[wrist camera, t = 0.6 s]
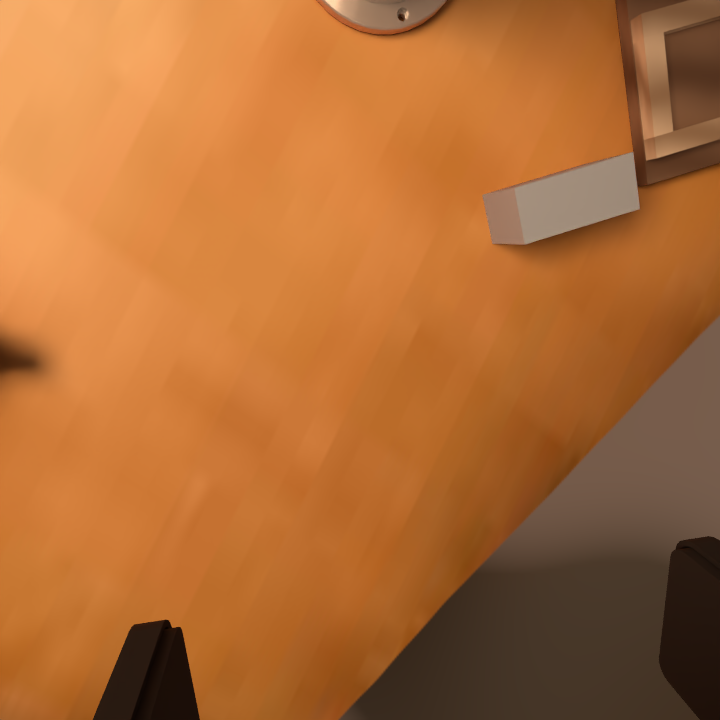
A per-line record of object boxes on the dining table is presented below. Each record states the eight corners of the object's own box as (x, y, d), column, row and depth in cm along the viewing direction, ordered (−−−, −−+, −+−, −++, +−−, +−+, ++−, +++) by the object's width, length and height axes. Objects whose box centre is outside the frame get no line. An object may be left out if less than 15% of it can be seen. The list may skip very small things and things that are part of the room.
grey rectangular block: (482, 195, 40) (514, 187, 34) (587, 163, 40) (637, 150, 34) (491, 243, 41) (524, 244, 35) (594, 211, 41) (643, 207, 35)
